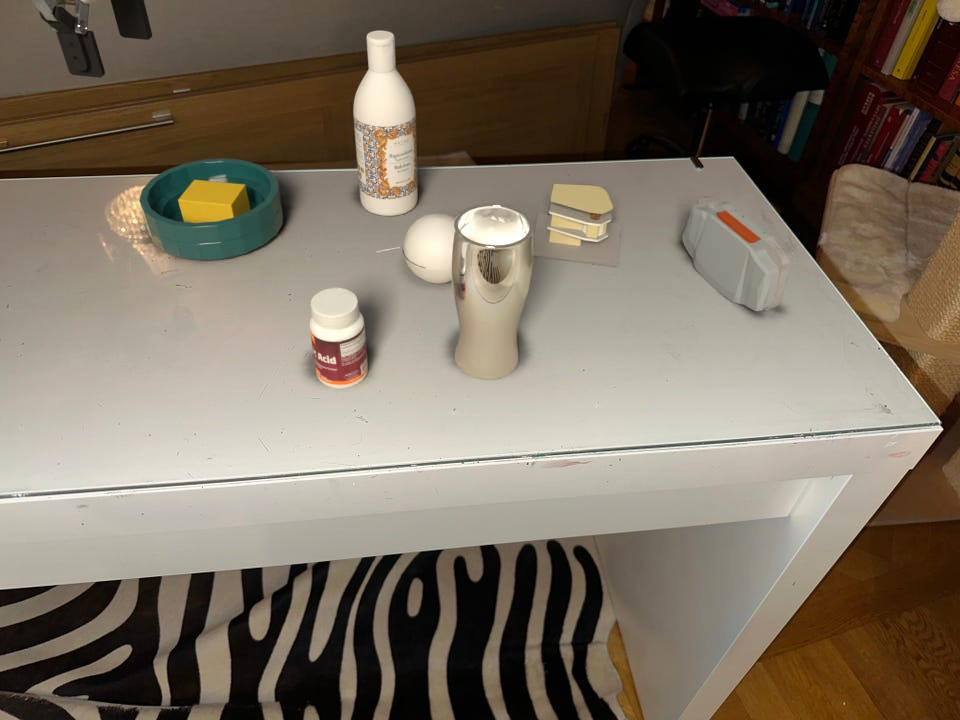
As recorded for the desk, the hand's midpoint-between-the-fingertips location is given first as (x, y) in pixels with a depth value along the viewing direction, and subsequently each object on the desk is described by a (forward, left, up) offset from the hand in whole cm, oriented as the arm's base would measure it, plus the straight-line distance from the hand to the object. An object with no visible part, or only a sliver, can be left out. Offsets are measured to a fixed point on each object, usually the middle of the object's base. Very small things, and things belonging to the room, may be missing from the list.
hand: (113, 55), depth 73 cm
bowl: (+6, +1, -20) cm, 21 cm away
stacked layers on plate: (+47, +6, -20) cm, 51 cm away
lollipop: (+31, -4, -20) cm, 37 cm away
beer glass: (+39, -16, -20) cm, 47 cm away
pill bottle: (+26, -20, -20) cm, 38 cm away
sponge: (+6, +1, -19) cm, 20 cm away
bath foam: (+24, +10, -20) cm, 33 cm away
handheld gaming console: (+63, 0, -20) cm, 66 cm away
